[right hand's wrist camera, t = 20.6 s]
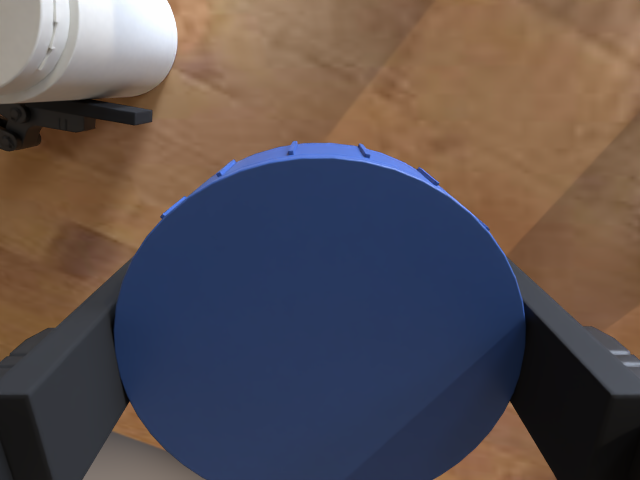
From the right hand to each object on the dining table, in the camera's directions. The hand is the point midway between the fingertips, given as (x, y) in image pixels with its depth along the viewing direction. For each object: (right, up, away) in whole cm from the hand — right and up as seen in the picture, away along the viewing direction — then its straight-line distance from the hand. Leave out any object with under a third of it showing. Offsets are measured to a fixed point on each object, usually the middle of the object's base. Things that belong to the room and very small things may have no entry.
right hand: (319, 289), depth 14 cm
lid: (0, -1, -3) cm, 3 cm away
